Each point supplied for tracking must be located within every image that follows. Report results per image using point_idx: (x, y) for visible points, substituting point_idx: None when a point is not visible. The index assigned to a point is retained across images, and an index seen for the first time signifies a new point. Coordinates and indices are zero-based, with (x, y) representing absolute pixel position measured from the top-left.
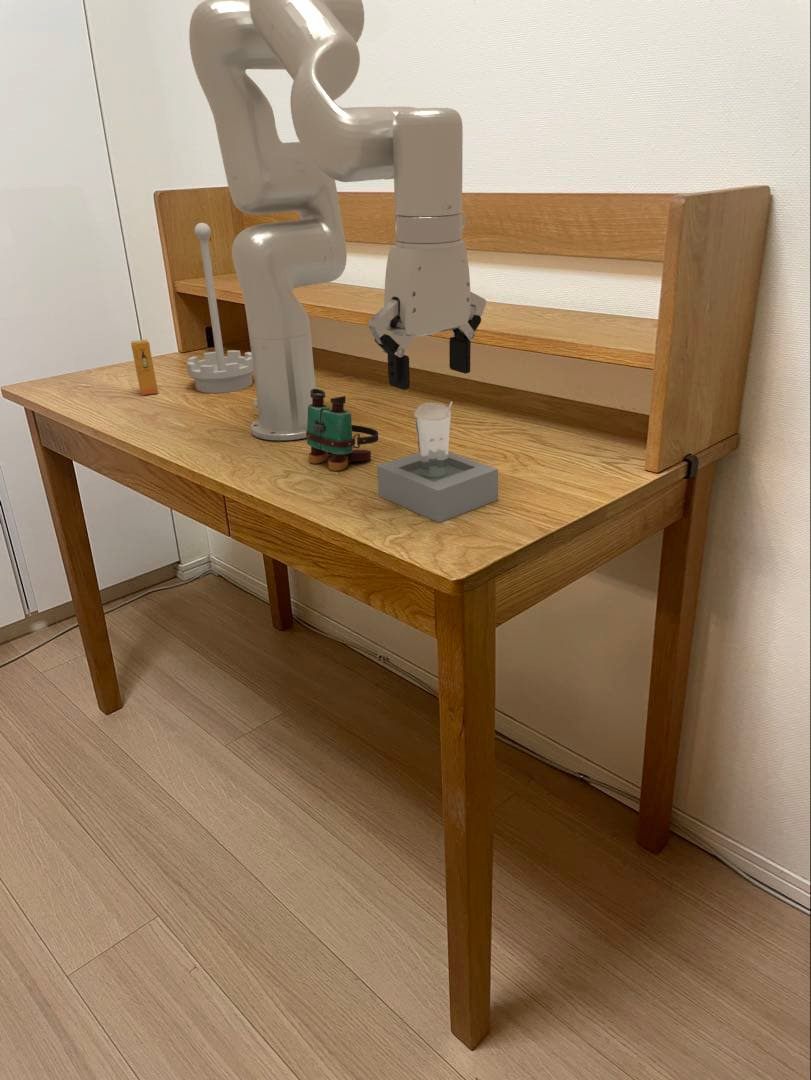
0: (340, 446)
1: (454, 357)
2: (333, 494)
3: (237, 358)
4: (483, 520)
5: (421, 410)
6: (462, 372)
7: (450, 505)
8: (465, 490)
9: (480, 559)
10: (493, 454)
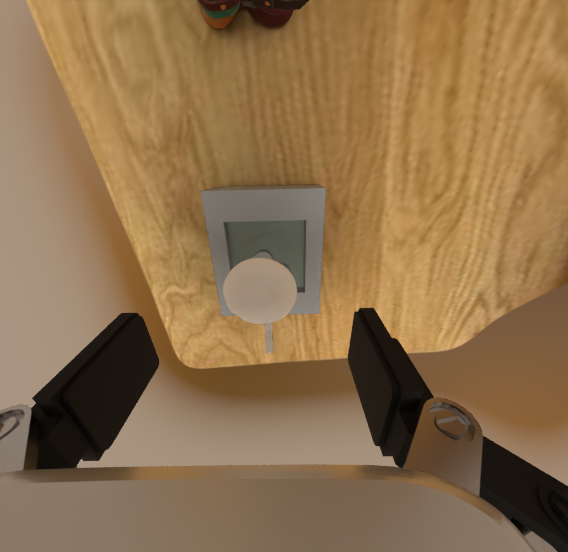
0: (201, 2)
1: (364, 354)
2: (162, 129)
3: None
4: None
5: (229, 300)
6: (349, 351)
7: None
8: None
9: (217, 360)
10: (440, 174)
